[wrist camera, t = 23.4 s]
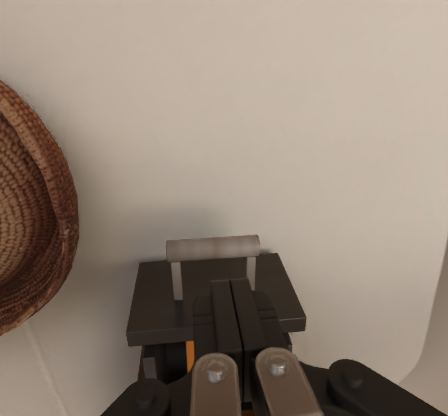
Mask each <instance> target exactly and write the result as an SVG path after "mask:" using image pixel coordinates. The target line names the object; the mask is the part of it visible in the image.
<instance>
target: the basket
mask: <svg viewBox="0 0 448 416" xmlns="http://www.w3.org/2000/svg"><path fill="white" fill-rule="evenodd" d="M78 239H79V218H78V205H77V194H76V190H75V186H74V182H73V179H72V175H71V172H70V170H69V167H68V164H67V162H66V159H65V157H64V155H63V153H62V150H61V149H60V147H59V146H58V144H57V143H56V141H55V140H54V138H53V137H52V135H51V134H50V132H49V131H48V130H47V128H46V127H45V126H44V124H43V123H42V121H41V120H40V119H39V116H38V115H37V114H36V113H35V111H34V110H33V109H32V108H31V107H30V106H29V105H28V104H27V103H26V102H25V101H24V100H23V99H22V98H21V97H20V96H19V95H18V94H17V93H16V92H15V91H14V90H12V89H11V88H10V87H9V86H8V85H6V84H5V83H4V82H2V81H1V80H0V336H1V335H3V334H5V333H7V332H8V331H10V330H12V329H14V328H16V327H17V326H19V325H20V324H21V323H23V322H24V321H25V320H27V319H29V318H30V317H31V316H33V315H34V314H35V313H37V312H38V311H39V310H40V309H41V308H43V307H44V306H45V305H46V304H47V303H48V302H49V301H50V300H51V299H52V298H53V297H54V296H55V294H56V293H57V292H58V291H59V289H60V288H61V286H62V285H63V283H64V281H65V280H66V278H67V276H68V274H69V272H70V270H71V268H72V263H73V259H74V256H75V252H76V249H77V244H78Z"/></svg>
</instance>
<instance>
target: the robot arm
mask: <svg viewBox="0 0 448 416" xmlns="http://www.w3.org/2000/svg"><path fill="white" fill-rule="evenodd" d="M192 313H193V337H194V363H193V366H192V368H191V369H190V371H189V372H188V373H187V374H186V375H185V376H184V377H182V378H181V379H179V380H177V381H175V382H172V383H170V384H167V385H165V384H164V383H163V382H162V381H160V380H158V379H153V378H146V379H142V380H139V381H137V382H135V383H133V384H132V385H130V386H129V387H128V388H127V389H126V390H125V391H124V392H123V393H122V394H121V395H120V396H119V397H118V398H117V399H116V400H115V401H114V402H113V403H112V404H111V405H110V406H109V407H108V408H107V409H106V410H105V411H104V412H103V413H102V414H101V415H100V416H242V414H241V402H242V393H243V399H244V402H249V401H252V405H253V410H254V416H447V415H446V414H444V413H442V412H441V411H439V410H437V409H436V408H434V407H433V406H431V405H429V404H428V403H425V402H424V401H423V400H421V399H419V398H418V397H416V396H414V395H413V394H411V393H409V392H408V391H406V390H405V389H403V388H401V387H399V386H398V385H396V384H395V383H393V382H391V381H390V380H388V379H386V378H385V377H383V376H381V375H380V374H378V373H377V372H375V371H373V370H372V369H370V368H368V367H367V366H365V365H363V364H361V363H360V362H357V361H354V360H349V359H342V360H338V361H336V362H334V363H333V364H331V366H330V367H329V369H324V368H319V367H313V366H309V365H307V364H304V363H302V362H301V361H299V360H298V358H297V357H296V356H295V355H294V354H293V353H292V352H290V350H289V348H288V345H287V342H286V339H285V336H284V334H283V331H282V328H281V325H280V322H279V319H278V318H277V314H276V311H275V308H274V305H273V302H272V299H271V298H270V297H269V296H268V295H267V294H266V293H265V292H264V291H263V290H254V291H252V289H251V285H250V282H249V279H248V278H239V279H229V280H228V279H227V280H214V281H210V294H206V295H197V297H196V299H195V300H194V302H193V304H192Z"/></svg>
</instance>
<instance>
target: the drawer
mask: <svg viewBox="0 0 448 416" xmlns="http://www.w3.org/2000/svg"><path fill="white" fill-rule="evenodd" d="M166 255H167V261H154V262H141V263H140V264H139V269H138V274H137V279H136V284H135V289H134V295H133V300H132V305H131V310H130V315H129V320H128V326H127V331H126V335H127V341H128V346H129V347H131V346H143V345H144V350H143V358H142V359H143V366H144V372H145V379H146V378H153V379H158V380H160V381H162V382H163V383H164V384H165V385H167V384H170V383H172V382H175V381H177V380H179V379H181V378H182V377H184V376H185V375H186V374H187V355H186V342H187V341H194V337H193V313H192V304H193V302H194V300H195V299H196V297H197V295H206V294H210V281H214V280H227V279H228V280H229V279H239V278H248V279H249V282H250V285H251V289H252V291H254V290H263V291H264V292H265V293H266V294H267V295H268V296H269V297H270V298H271V299H272V302H273V305H274V308H275V311H276V314H277V318H278V319H279V322H280V325H281V328H282V331H283V334H284V336H285V339H286V342H287V345H288V348H289V350H290V352H292V343H291V340H290V337H289V334H288V332H299V331H305V326H306V315H305V313H304V311H303V309H302V306H301V304H300V302H299V300H298V297H297V295H296V293H295V291H294V289H293V286H292V284H291V282H290V280H289V277H288V275H287V273H286V271H285V268H284V266H283V264H282V262H281V260H280V257H279V255H278V253H270V254H260V241H259V237H258V235H247V236H231V237H215V238H200V239H184V240H169V241H167V242H166ZM251 409H253V405H252V401H249V402H244V399H243V393H242V402H241V410H251Z"/></svg>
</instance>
